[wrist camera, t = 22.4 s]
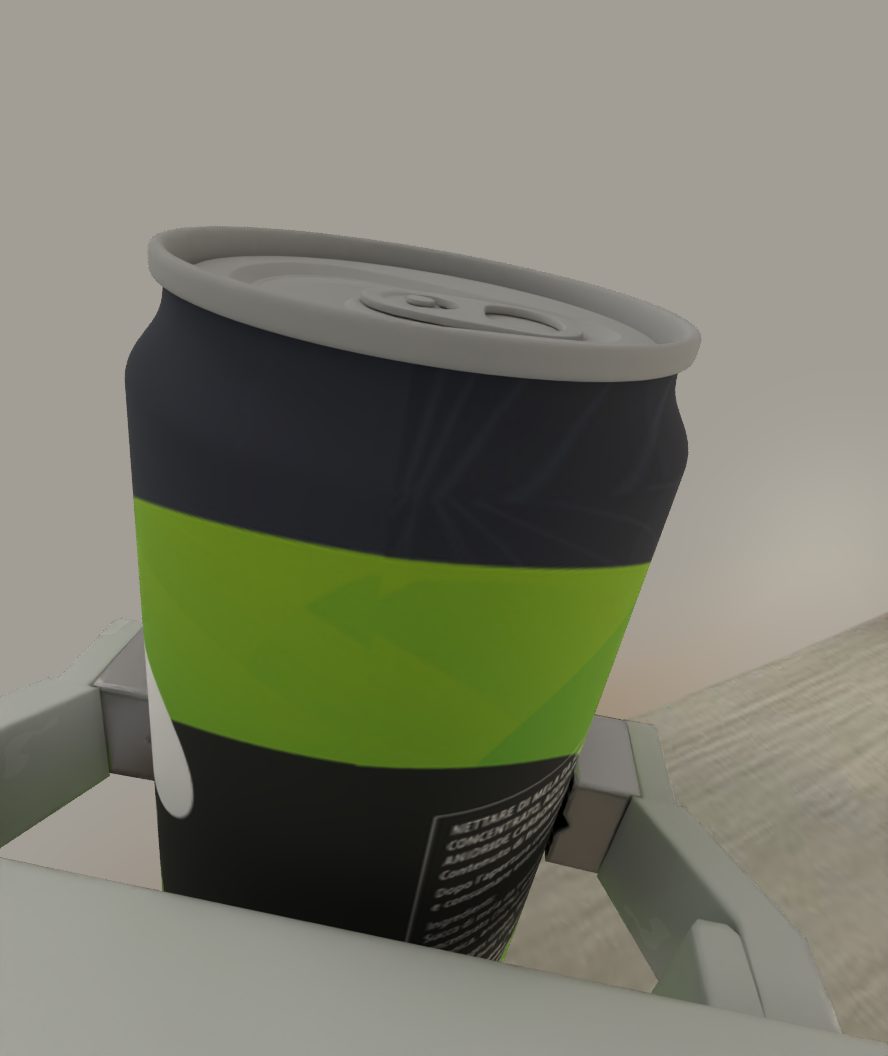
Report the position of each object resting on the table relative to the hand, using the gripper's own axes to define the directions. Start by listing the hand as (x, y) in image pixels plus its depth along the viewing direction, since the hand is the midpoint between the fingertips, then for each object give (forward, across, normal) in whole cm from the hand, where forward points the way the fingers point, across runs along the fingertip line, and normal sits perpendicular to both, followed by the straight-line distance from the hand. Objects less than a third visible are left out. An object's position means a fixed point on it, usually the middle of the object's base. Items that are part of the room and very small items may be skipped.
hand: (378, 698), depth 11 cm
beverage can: (-1, 0, +8) cm, 8 cm away
